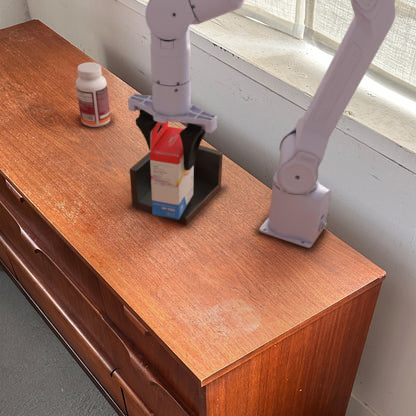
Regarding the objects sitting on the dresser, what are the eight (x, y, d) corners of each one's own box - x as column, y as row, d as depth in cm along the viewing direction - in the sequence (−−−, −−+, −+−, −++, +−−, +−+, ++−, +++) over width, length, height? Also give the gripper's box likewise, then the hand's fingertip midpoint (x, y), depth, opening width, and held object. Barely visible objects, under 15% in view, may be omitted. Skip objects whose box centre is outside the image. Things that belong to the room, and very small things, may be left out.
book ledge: (221, 189, 115) (222, 151, 110) (186, 225, 108) (186, 187, 102) (169, 172, 119) (168, 135, 113) (132, 207, 111) (129, 169, 105)
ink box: (179, 221, 104) (179, 138, 93) (151, 215, 105) (148, 132, 94) (194, 193, 110) (195, 112, 99) (167, 188, 111) (166, 107, 100)
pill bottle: (106, 112, 134) (101, 58, 126) (113, 125, 130) (108, 71, 122) (78, 116, 132) (70, 62, 124) (84, 129, 129) (77, 75, 120)
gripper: (114, 76, 91) (121, 161, 101) (202, 100, 87) (200, 186, 97) (139, 59, 95) (144, 142, 106) (224, 80, 91) (221, 165, 101)
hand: (172, 162), depth 102 cm, fingers closed on ink box, 5 cm apart
